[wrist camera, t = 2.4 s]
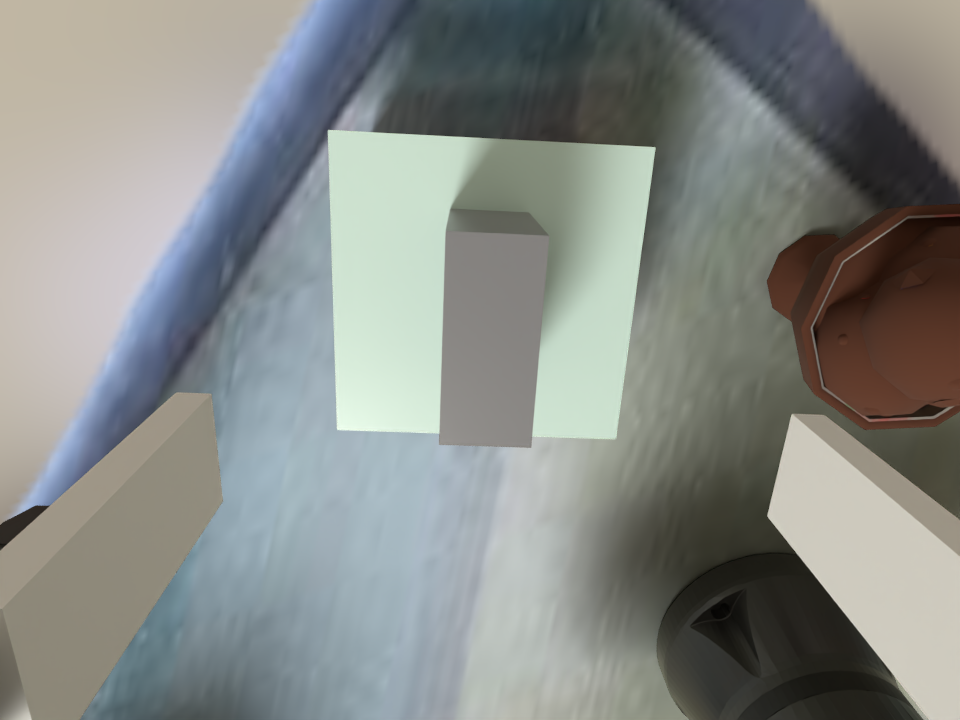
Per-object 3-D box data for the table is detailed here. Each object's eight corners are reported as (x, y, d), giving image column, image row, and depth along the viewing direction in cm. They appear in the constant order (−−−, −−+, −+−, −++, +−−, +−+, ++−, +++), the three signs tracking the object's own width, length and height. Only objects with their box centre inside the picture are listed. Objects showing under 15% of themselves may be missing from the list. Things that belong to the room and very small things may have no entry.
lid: (643, 146, 29) (718, 149, 20) (607, 422, 33) (656, 519, 25) (337, 130, 28) (282, 126, 20) (344, 413, 33) (302, 508, 24)
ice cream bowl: (745, 389, 40) (902, 527, 26) (705, 222, 36) (862, 275, 22) (912, 333, 39) (1171, 444, 25) (889, 155, 35) (1176, 167, 21)
